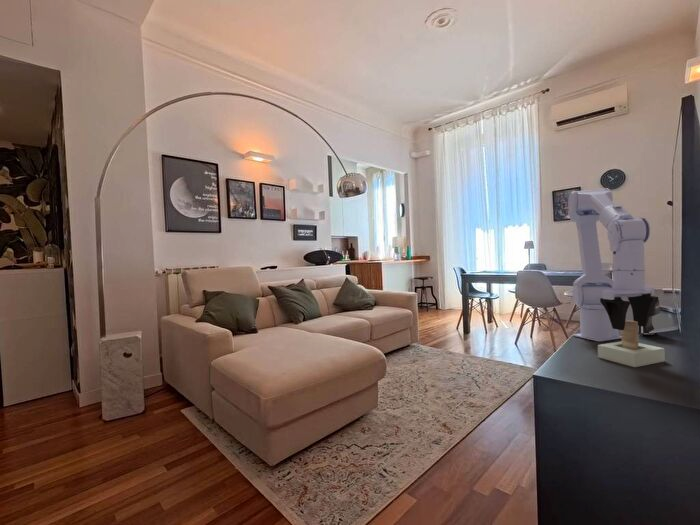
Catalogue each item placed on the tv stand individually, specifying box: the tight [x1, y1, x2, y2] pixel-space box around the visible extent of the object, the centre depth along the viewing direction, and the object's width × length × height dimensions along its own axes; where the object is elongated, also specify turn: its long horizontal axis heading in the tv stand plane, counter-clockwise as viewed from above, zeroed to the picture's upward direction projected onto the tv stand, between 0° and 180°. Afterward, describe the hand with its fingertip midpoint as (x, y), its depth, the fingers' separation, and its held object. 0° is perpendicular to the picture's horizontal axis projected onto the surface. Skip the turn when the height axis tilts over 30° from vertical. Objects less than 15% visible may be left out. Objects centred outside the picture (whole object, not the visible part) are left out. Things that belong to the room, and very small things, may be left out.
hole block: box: [597, 340, 666, 368], centre depth 79 cm, size 10×8×3 cm
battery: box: [638, 299, 661, 335], centre depth 100 cm, size 7×4×11 cm, turn 126°
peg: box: [621, 319, 639, 350], centre depth 79 cm, size 3×3×9 cm
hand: (629, 327), depth 79 cm, fingers open, 7 cm apart
